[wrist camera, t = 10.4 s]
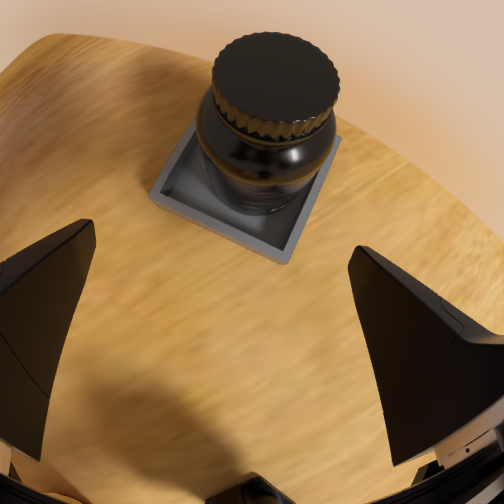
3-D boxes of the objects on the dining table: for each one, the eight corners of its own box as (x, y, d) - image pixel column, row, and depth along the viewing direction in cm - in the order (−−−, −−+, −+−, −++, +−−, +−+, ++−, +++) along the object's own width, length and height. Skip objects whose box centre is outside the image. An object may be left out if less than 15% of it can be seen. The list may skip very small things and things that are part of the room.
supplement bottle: (198, 147, 21) (169, 32, 9) (283, 125, 21) (321, 11, 9) (224, 232, 20) (209, 172, 8) (313, 204, 21) (396, 131, 9)
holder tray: (331, 150, 22) (342, 137, 19) (281, 265, 21) (287, 263, 18) (219, 100, 22) (218, 83, 19) (157, 205, 21) (147, 197, 18)
